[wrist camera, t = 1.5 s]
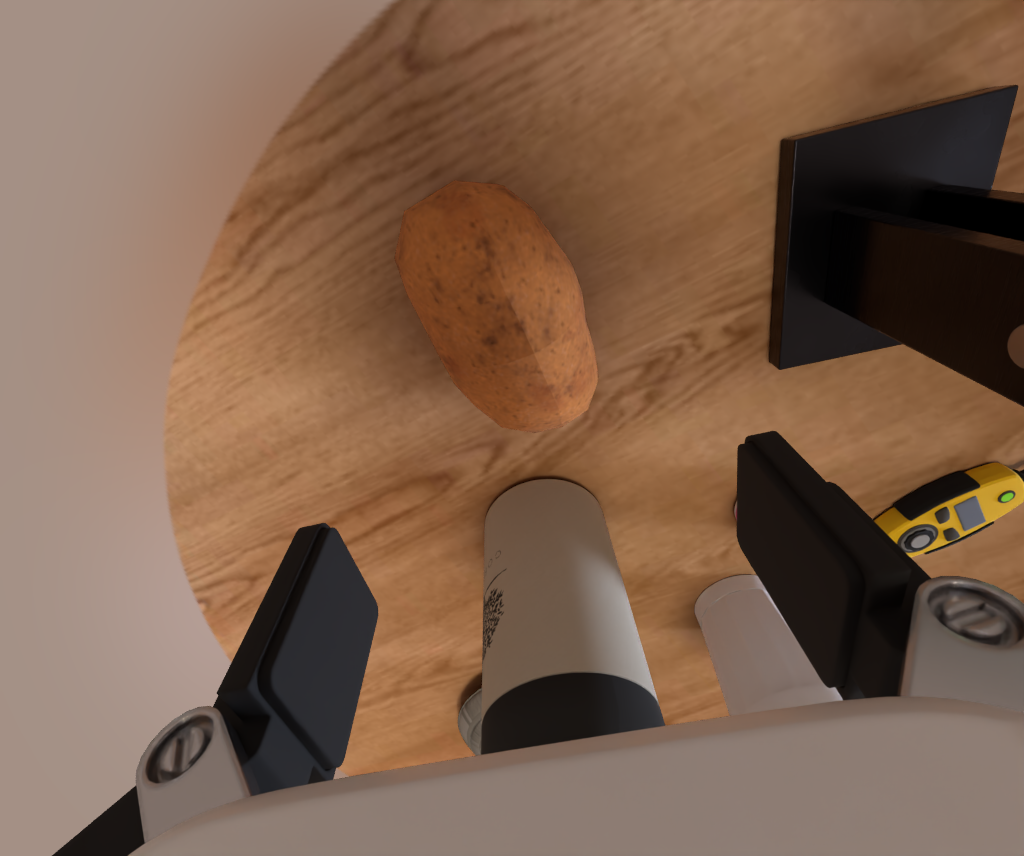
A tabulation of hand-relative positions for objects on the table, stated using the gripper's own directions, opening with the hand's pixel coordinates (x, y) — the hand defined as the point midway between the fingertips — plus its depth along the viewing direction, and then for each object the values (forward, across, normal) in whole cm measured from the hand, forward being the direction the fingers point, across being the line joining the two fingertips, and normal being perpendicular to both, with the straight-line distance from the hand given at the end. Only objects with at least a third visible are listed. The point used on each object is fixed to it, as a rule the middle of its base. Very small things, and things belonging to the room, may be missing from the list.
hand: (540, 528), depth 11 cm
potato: (+17, 0, 0) cm, 17 cm away
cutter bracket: (+16, -18, +1) cm, 24 cm away
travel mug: (+17, +1, +15) cm, 22 cm away
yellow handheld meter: (+17, -28, +19) cm, 37 cm away
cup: (+17, -12, +26) cm, 34 cm away
